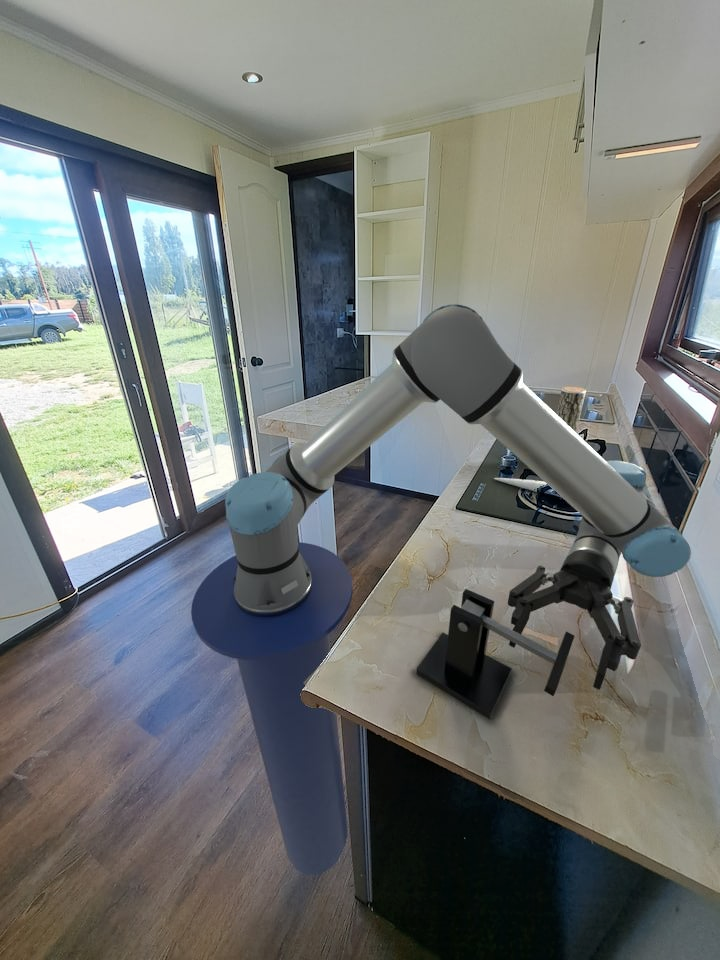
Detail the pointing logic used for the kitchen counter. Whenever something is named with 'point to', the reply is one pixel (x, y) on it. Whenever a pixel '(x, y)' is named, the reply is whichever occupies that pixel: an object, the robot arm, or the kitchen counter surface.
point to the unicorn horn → (523, 483)
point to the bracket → (466, 660)
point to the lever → (529, 645)
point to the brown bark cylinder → (571, 405)
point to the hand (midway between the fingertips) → (553, 659)
